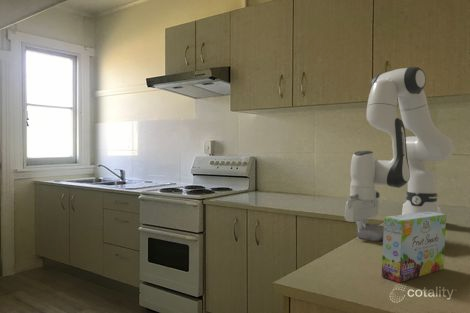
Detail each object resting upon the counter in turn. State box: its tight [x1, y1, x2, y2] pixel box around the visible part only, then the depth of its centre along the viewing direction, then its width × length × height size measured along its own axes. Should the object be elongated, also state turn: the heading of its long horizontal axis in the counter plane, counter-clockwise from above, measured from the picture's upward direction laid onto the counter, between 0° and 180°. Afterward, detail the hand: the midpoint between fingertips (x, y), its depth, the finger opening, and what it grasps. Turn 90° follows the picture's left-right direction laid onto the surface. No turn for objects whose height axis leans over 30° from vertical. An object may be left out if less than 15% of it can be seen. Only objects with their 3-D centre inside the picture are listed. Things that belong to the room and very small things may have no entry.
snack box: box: [381, 212, 447, 283], centre depth 97 cm, size 21×6×15 cm, turn 126°
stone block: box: [357, 223, 384, 242], centre depth 138 cm, size 12×5×10 cm
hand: (361, 230), depth 142 cm, fingers closed
